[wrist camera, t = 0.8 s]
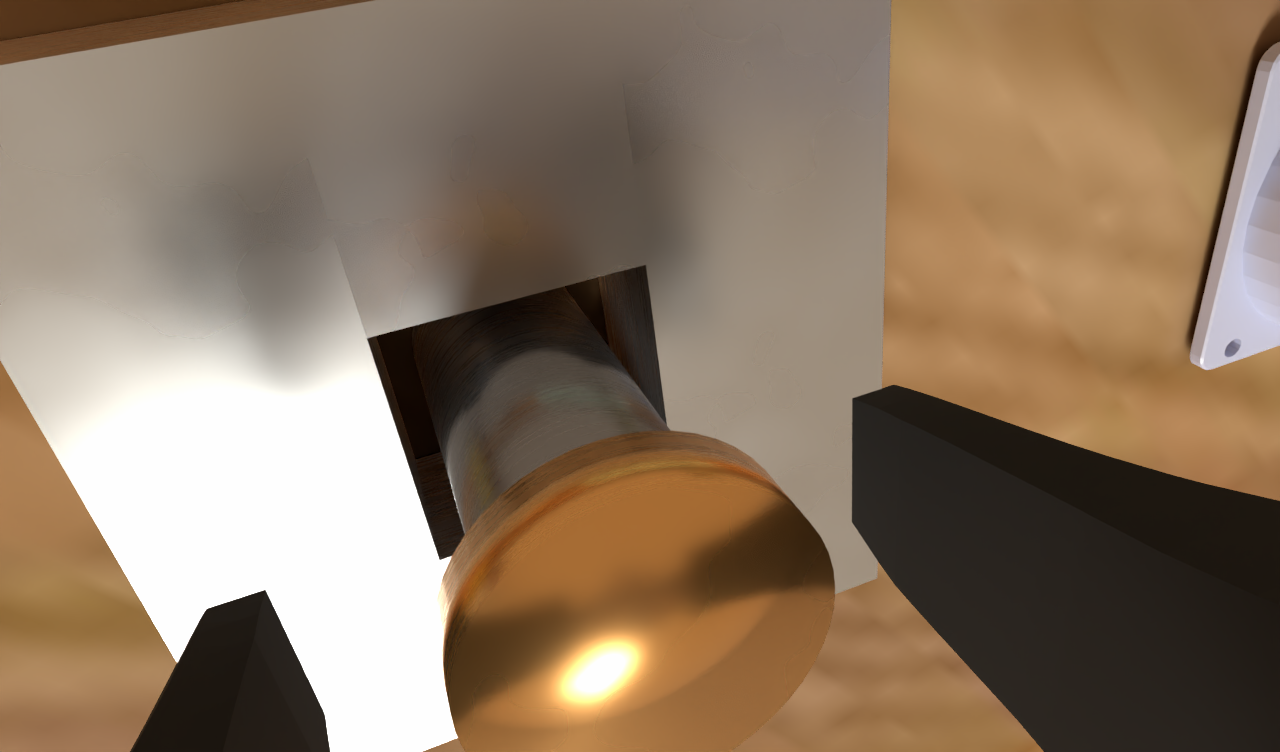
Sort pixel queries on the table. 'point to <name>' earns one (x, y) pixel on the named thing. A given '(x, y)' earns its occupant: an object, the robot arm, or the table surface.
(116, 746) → the table surface
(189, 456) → the block
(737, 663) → the copper-topped gray cylinder
